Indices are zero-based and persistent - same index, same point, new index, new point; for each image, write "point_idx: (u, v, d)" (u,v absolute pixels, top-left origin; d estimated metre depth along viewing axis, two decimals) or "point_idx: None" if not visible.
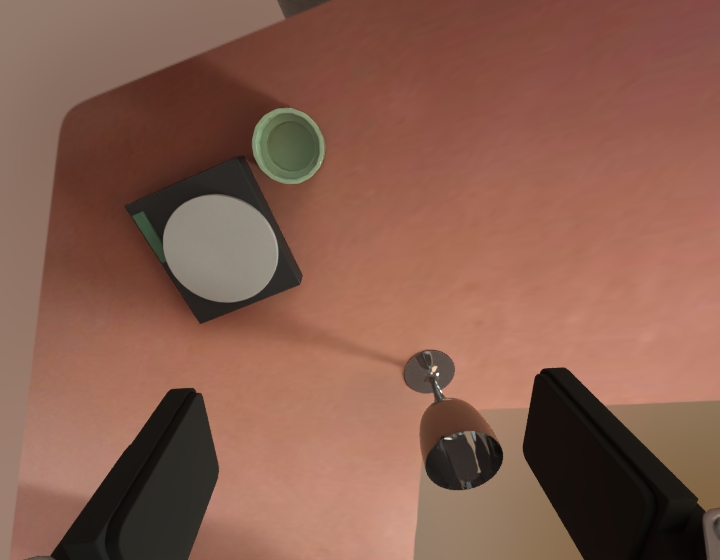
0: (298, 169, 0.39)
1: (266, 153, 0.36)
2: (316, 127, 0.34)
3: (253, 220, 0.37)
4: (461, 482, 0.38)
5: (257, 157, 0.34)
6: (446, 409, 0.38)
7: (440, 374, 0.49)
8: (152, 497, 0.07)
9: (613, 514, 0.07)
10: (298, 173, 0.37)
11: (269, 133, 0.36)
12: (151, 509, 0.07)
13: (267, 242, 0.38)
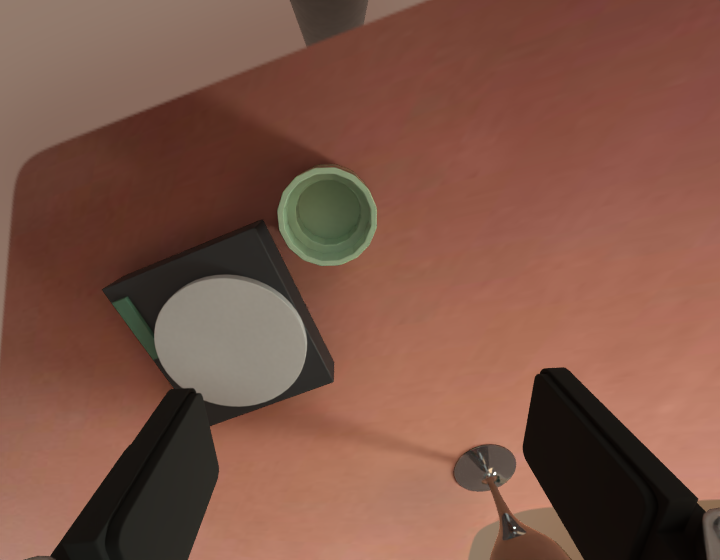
0: (334, 236, 0.29)
1: (295, 221, 0.26)
2: (368, 193, 0.24)
3: (276, 308, 0.28)
4: None
5: (284, 232, 0.25)
6: None
7: (499, 473, 0.40)
8: (152, 497, 0.07)
9: (613, 514, 0.07)
10: (336, 246, 0.27)
11: (299, 195, 0.26)
12: (151, 509, 0.07)
13: (293, 335, 0.29)
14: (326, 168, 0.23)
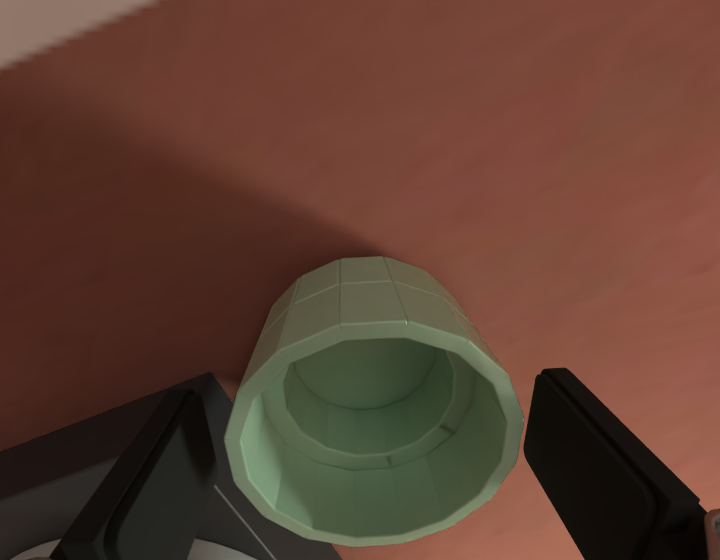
0: (376, 405, 0.13)
1: (283, 411, 0.10)
2: (506, 385, 0.08)
3: None
4: None
5: (249, 486, 0.08)
6: None
7: None
8: (151, 498, 0.07)
9: (614, 515, 0.07)
10: (387, 457, 0.11)
11: None
12: (150, 510, 0.07)
13: None
14: (378, 322, 0.07)
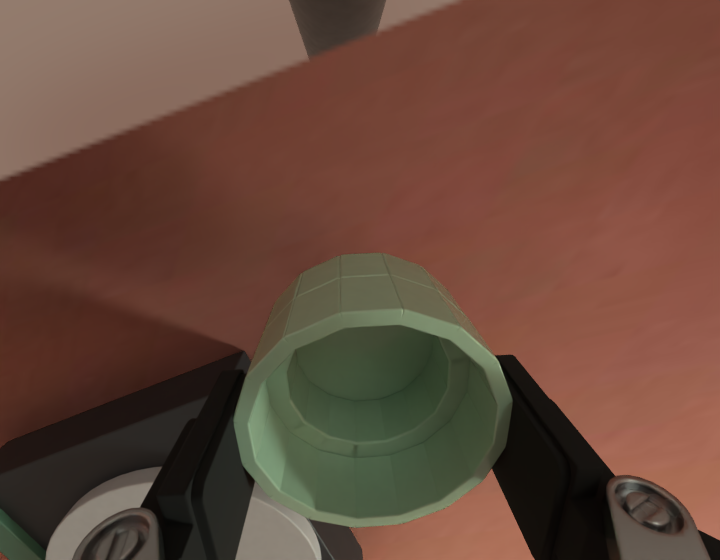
0: (375, 397, 0.13)
1: (287, 400, 0.11)
2: (495, 370, 0.08)
3: (266, 523, 0.15)
4: None
5: (256, 468, 0.09)
6: None
7: None
8: (221, 462, 0.08)
9: (539, 485, 0.08)
10: (385, 444, 0.12)
11: None
12: (221, 472, 0.07)
13: None
14: (376, 311, 0.08)
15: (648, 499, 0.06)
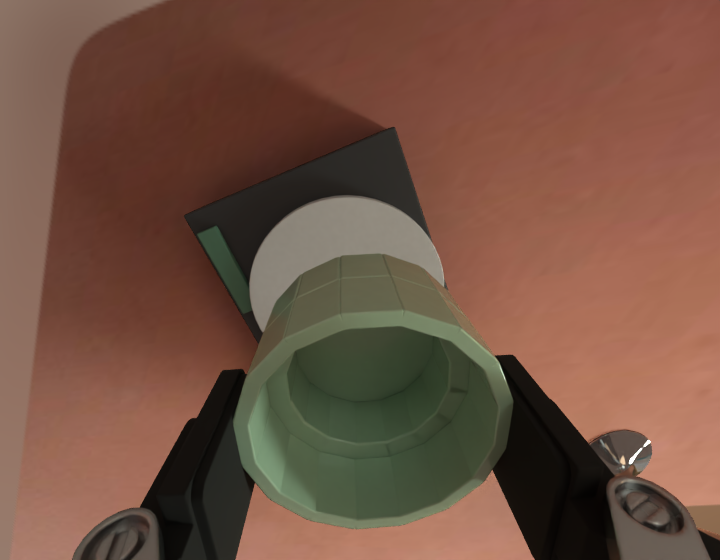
0: (375, 398, 0.13)
1: (287, 401, 0.11)
2: (496, 371, 0.08)
3: (413, 241, 0.21)
4: None
5: (256, 469, 0.09)
6: None
7: (633, 465, 0.33)
8: (221, 462, 0.08)
9: (539, 484, 0.08)
10: (386, 446, 0.12)
11: None
12: (221, 473, 0.07)
13: None
14: (377, 312, 0.08)
15: (648, 499, 0.06)
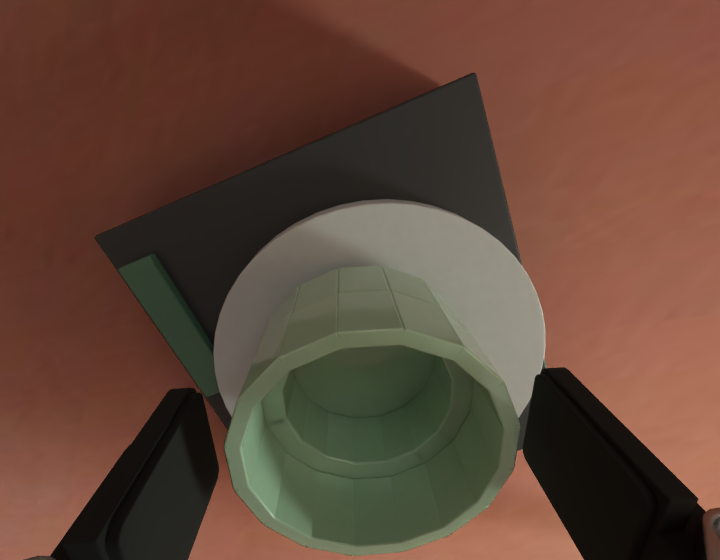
0: (375, 413, 0.13)
1: (283, 419, 0.10)
2: (501, 392, 0.08)
3: (499, 280, 0.12)
4: None
5: (249, 494, 0.08)
6: None
7: None
8: (152, 497, 0.07)
9: (613, 514, 0.07)
10: (386, 465, 0.11)
11: None
12: (151, 509, 0.07)
13: (523, 342, 0.13)
14: (375, 330, 0.07)
15: None
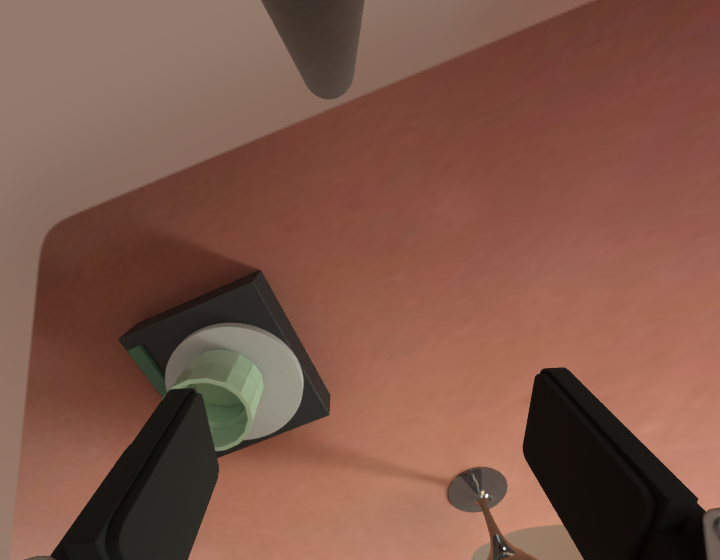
0: (232, 405, 0.32)
1: None
2: (240, 395, 0.26)
3: (274, 351, 0.31)
4: None
5: None
6: None
7: (491, 494, 0.42)
8: (152, 497, 0.07)
9: (613, 514, 0.07)
10: (227, 423, 0.30)
11: (187, 385, 0.29)
12: (151, 509, 0.07)
13: (290, 375, 0.31)
14: (198, 378, 0.26)
15: None
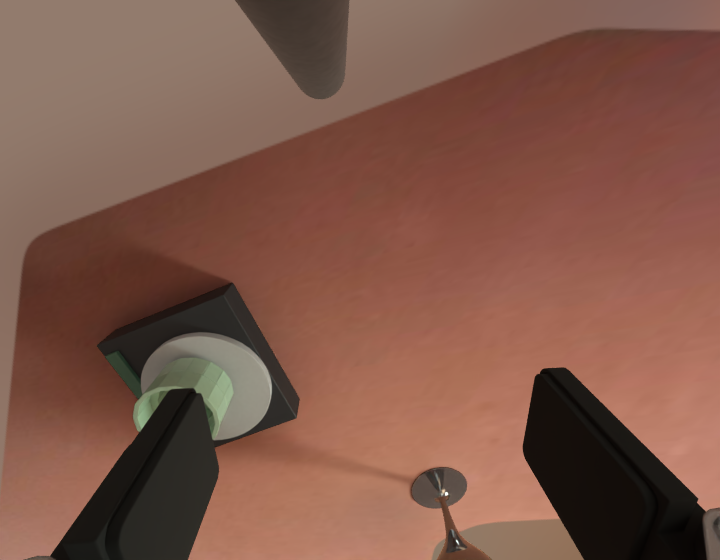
0: None
1: None
2: (207, 402, 0.29)
3: (243, 360, 0.33)
4: None
5: None
6: None
7: (451, 492, 0.45)
8: (152, 497, 0.07)
9: (613, 514, 0.07)
10: None
11: (160, 390, 0.31)
12: (151, 509, 0.07)
13: (259, 381, 0.34)
14: (168, 386, 0.28)
15: None
